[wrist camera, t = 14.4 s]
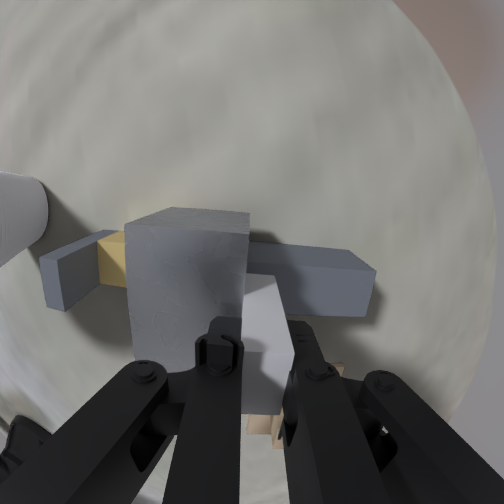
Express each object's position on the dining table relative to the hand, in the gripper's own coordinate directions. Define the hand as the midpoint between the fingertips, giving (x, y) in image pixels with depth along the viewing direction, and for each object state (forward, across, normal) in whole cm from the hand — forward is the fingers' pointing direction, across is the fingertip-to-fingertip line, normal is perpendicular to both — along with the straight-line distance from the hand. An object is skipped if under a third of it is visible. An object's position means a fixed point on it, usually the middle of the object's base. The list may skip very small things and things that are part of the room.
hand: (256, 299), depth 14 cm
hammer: (+6, -2, 0) cm, 7 cm away
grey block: (+4, -3, 0) cm, 5 cm away
